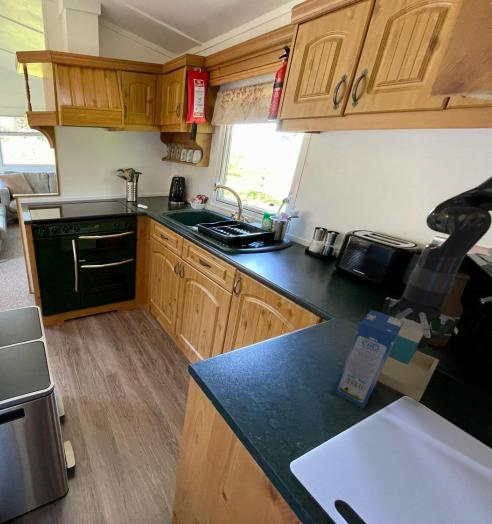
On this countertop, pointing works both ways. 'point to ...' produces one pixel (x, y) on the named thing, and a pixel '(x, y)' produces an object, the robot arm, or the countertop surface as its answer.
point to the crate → (409, 374)
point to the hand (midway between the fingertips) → (403, 341)
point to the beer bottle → (450, 309)
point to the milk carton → (367, 356)
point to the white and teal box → (407, 341)
